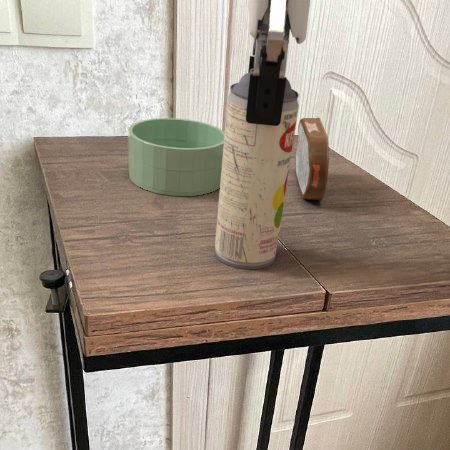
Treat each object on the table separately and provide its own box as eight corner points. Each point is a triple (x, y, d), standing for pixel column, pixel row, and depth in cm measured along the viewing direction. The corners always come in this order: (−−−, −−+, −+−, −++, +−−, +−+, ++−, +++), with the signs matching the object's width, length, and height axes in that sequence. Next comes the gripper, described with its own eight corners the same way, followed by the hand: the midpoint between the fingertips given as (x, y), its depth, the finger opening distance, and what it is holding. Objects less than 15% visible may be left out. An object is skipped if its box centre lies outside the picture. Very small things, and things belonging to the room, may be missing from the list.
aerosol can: (274, 272, 67) (306, 66, 55) (211, 264, 67) (228, 57, 55) (276, 245, 73) (305, 51, 60) (217, 237, 73) (234, 43, 60)
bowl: (224, 166, 92) (228, 123, 88) (222, 200, 81) (226, 153, 78) (135, 157, 91) (135, 114, 87) (122, 190, 81) (121, 143, 77)
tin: (323, 210, 82) (336, 144, 77) (299, 208, 82) (311, 142, 76) (310, 170, 94) (320, 110, 88) (289, 168, 93) (298, 108, 88)
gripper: (352, -125, 43) (307, 144, 54) (326, -121, 56) (294, 93, 67) (242, -138, 42) (220, 135, 54) (243, -131, 56) (225, 86, 67)
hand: (261, 110), depth 60 cm, fingers closed on aerosol can, 6 cm apart
